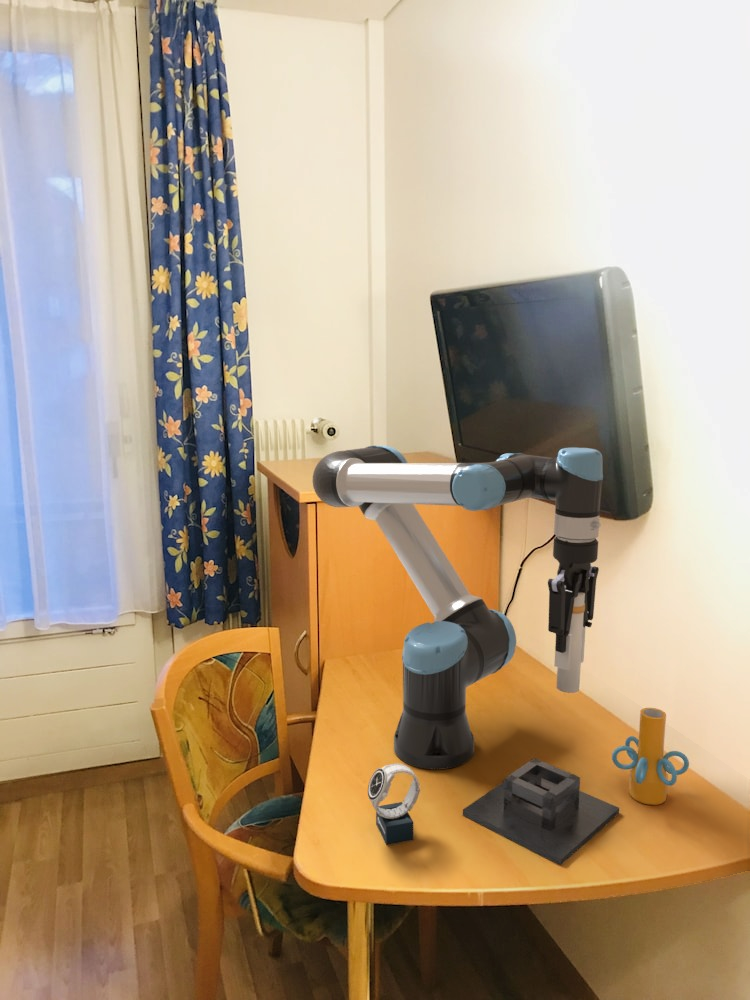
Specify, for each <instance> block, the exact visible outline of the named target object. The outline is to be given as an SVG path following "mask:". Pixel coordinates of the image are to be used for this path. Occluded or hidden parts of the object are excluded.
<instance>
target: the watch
mask: <svg viewBox="0 0 750 1000" xmlns="http://www.w3.org/2000/svg"><path fill="white" fill-rule="evenodd" d="M397 774H407V775H410V776H412V778H413V779H412V781H411V784H410V786H409V790H408V792H407V794H406V795H405V797H404V798H403V802H402V801H400V802H394V803H389V804H383V805H380V804H381V802H383V801H384V800H385V799H386V798H387V797H388V796H389V792H390V790H391V786H392V781H393V780H394V778H395V776H396V775H397ZM420 792H421V789H420V781H419V779H418V778H417V776H416V773H414V771H413V769H412V768H410V767H409V766H407V765H406V764H402V763H390V764H386V765H384V766H383V767H380V768H377V769H376V770H374V772H373V773H372V775H371V777H370V779H369V782H368V786H367V797H368V799H369V801H370V803H371V805H372V807H373V809H374V811H375V825H376V827H377V829H378V831H379V833H380V835H381V837H382V839H383V841H384V843H385V845H386V846H390V845H396V844H401V843H405V842H408V841H409V842H410V841H414V821H413V818H412V817H411V815H410V813H409V812H411V810H412V809H413V808H414V806H415V804H416V803H417V800H418V798H419V795H420Z"/></svg>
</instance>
